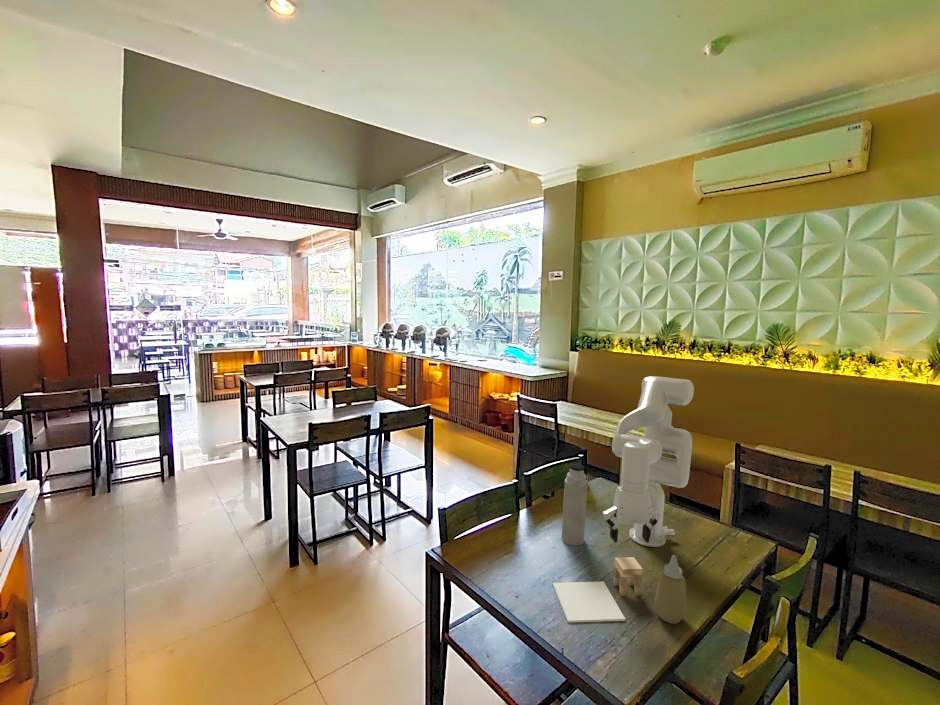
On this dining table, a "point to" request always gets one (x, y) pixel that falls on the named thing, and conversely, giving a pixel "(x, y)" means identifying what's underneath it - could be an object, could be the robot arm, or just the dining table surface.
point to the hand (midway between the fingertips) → (629, 539)
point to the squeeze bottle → (671, 593)
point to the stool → (627, 574)
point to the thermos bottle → (574, 506)
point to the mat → (587, 602)
